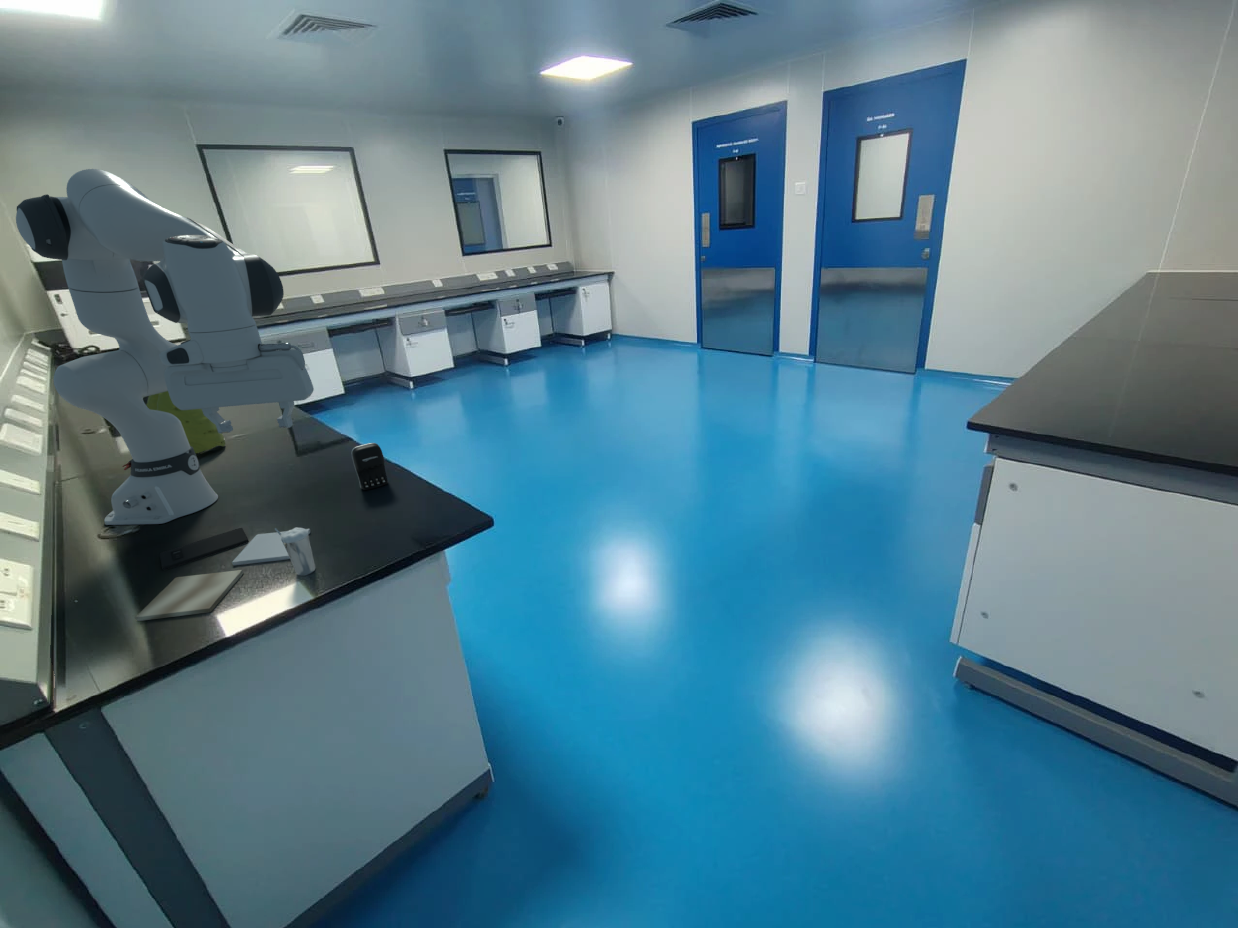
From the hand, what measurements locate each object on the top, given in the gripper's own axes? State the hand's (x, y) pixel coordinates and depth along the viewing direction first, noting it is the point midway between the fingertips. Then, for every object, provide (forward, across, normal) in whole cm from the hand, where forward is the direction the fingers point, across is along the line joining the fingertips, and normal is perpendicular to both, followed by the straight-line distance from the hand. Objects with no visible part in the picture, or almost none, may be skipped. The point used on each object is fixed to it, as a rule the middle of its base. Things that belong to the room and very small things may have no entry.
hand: (256, 429), depth 91 cm
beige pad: (+31, +20, 0) cm, 37 cm away
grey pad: (+31, +12, -15) cm, 36 cm away
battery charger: (+31, -2, -42) cm, 52 cm away
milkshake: (+31, +2, -4) cm, 31 cm away
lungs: (+31, +65, -87) cm, 113 cm away
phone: (+31, +27, -18) cm, 45 cm away
